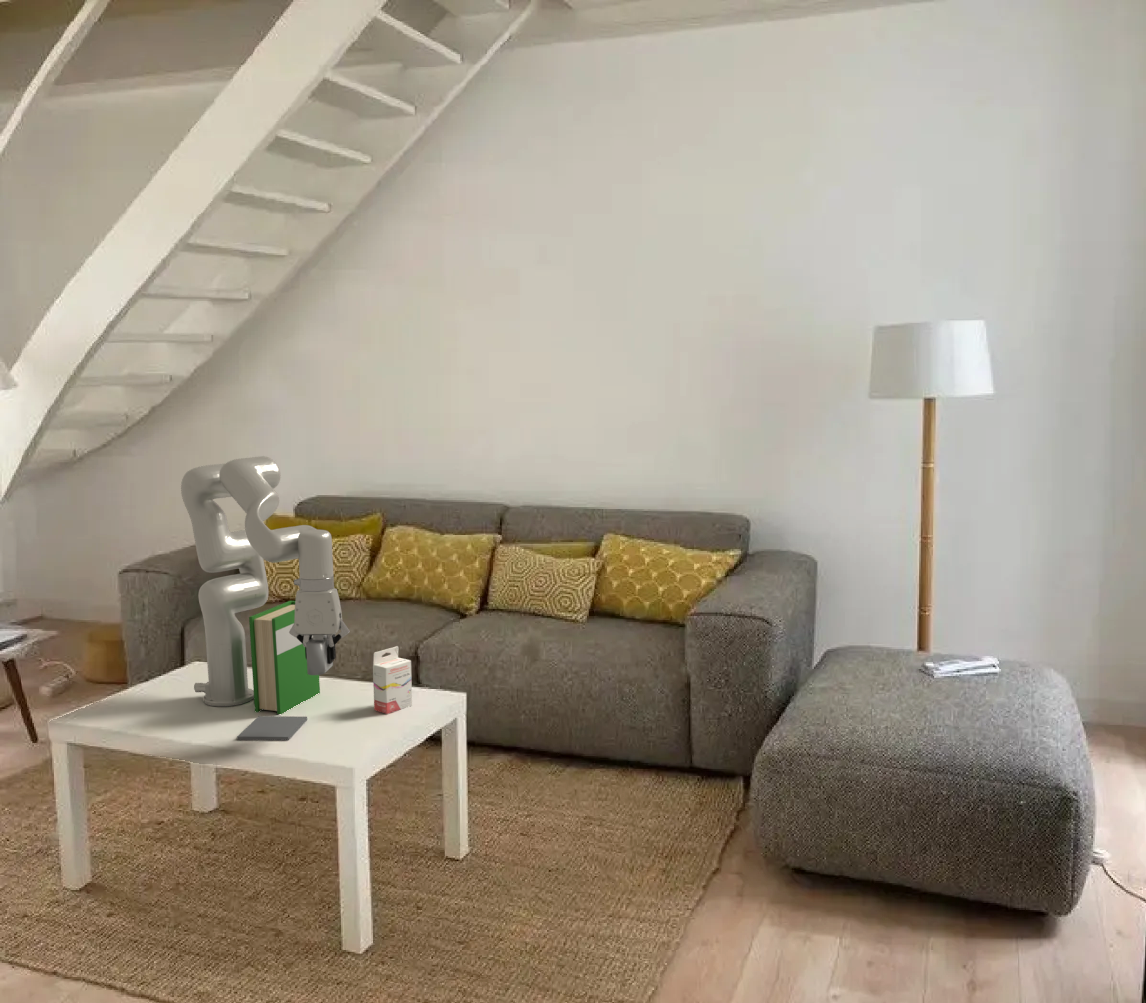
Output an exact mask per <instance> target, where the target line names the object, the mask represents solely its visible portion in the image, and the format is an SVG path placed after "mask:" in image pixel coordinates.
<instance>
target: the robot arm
mask: <svg viewBox="0 0 1146 1003" xmlns="http://www.w3.org/2000/svg"><path fill="white" fill-rule="evenodd" d="M281 478H282V477H281V470H280V468H279V465H278V464H277V463H276V460H275V461H274V460H273V459H272V458H271V457H268V456H264V455H263V456H252V457H251V456H250V457H243V458H235V459H232V460H229V461H227V462H225V463H216V464H207V465H200V466H198V467H193V468H191V469H189V470H187V471H186V473H185V474H184V475H183V476H182V479H181V484H180V491H181V493H180V494H181V498H182V502H183V504H184V507H185V509H186V511H187V513H188V516H189V518H190V522H191V527H192V533H193V539H194V544H195V548H196V549H195V550H196V554H197V559H198V563H199V566H200V567H201V569H202V571H204V572H206V573H210V574H211V573H212V574H213V573H221V572H226V571H231V570H237V569H239V570H238V571H239V573H237V574H230V575H226V576H221V577H215V578H212V579H209V580H206V582H204V583H203V584H202V585H201V586H200V588H199V590H198V595H197V596H198V602H199V607H200V610H201V614H202V618H203V625H204V626H203V627H204V633H205V634H204V636H205V646H206V647H205V648H206V663H207V664H206V665H207V676H208V678H207V679H208V681H207V682H206V683H205V682H195V683H194V684H193V685H194V686H193V689H194V692H195V693H204V696H203V703H204V704H205V705H207V706H212V707H231V706H238V705H242V704H245V703H249V702H250V701H252V700H254V690H253V689H252V688H249V683H248V682H249V680H248V679H249V678H248V664H247V651H246V649H247V648H246V633H245V632H246V631H245V629H244V626H243V625H242V623H241V622H240V621H239V620H238V618H237V616H236V614H237V613H240V612H245V611H249V610H253V609H258V608H260V607H262V606H264V605H265V604H266V603H267V601H268V598H269V584H268V577H267V572H266V567H265V561H266V562H268V563H273V564H274V563H282V562H287V561H288V562H289V561H292V560H298V566H299V567H298V568H299V569H298V570H299V571H298V572H299V578H295V579H294V580H293V584H294V586H298V587H299V589H298V590H297V591H296V595H295V600H294V601H295V619H294V624H293V626H292V628H291V629H290V631H289V633H290V634H291V635H292V636H294V637H296V638H297V639H298V640H299V641H300V642H301V643H302V644H303V646H304V647H305V657H306V659H307V653H306V643H307V642H308V641H309V640H310V639H311V638H312V635H326V636H327V640H328V647H327V661H328V664H331V663H332V662H333V663H334V662H335V661H334V660H336V657H337V654H336V653H337V652H336V644H337V643H338V642H339V641H340V640H341V639H343V638H345V637H346V636H347V635H348V634H349V633H350V632H351V631H350V629H349V628H348V626H347V625H346V623H345V622H344V621H343V614H342V613H343V612H342V607H341V601H340V597H339V593H338V589H337V588H335V578H334V559H333V558H334V557H333V539H332V538H333V537H332V534H331V533H330V532H329V530H326V529H317V528H315V527H313V526H312V525H308V524H302V525H301V524H299V525H296V526H295V525H294V526H288V527H281V528H275V529H270V528H269V527H268V526H267V525H266V524H265V523H264V521H266V520H268V519H269V518H270V517H271V516H272V515H273V514H274V513H275V512H276V511H277V509H278V507H279V505H280V497H279V494H278V493H277V492H276V491H275V488H277V487H278V486H279V484H280V483H281V482H280V481H281ZM231 497H232V498H233V500H234V501H235V502H236V504H237V505H239V507H240V508H241V509H242V511H244V513H245V514H246V516H245V518H244V529H243V530H236V531H235V530H233V531H230V529H229V525H228V519H227V515H226V513H225V511H224V509H223V508H222V507H221V506H220V505H219V504H218V503H217V502H216V501H215V499H223V498H224V499H225V498H231ZM339 631H340V632H339Z"/></svg>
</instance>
